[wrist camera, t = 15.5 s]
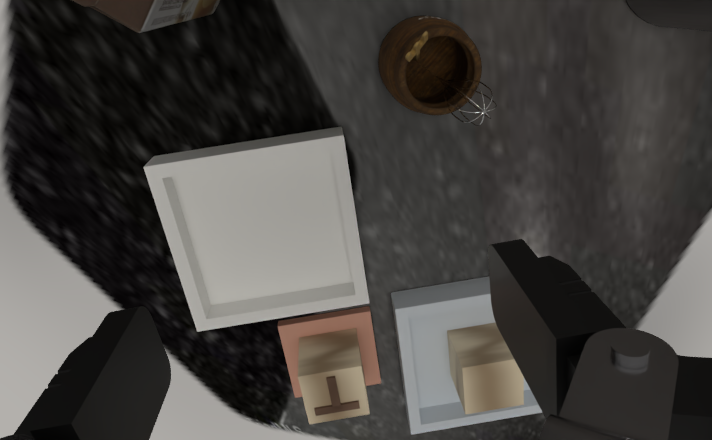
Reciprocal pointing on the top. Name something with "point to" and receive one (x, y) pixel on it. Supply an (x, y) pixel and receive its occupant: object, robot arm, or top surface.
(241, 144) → the white tray
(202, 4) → the coffee box
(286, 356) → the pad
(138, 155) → the top surface
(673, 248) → the top surface
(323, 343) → the letter cube
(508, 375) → the plain cube
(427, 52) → the utensil holder
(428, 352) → the blue tray
